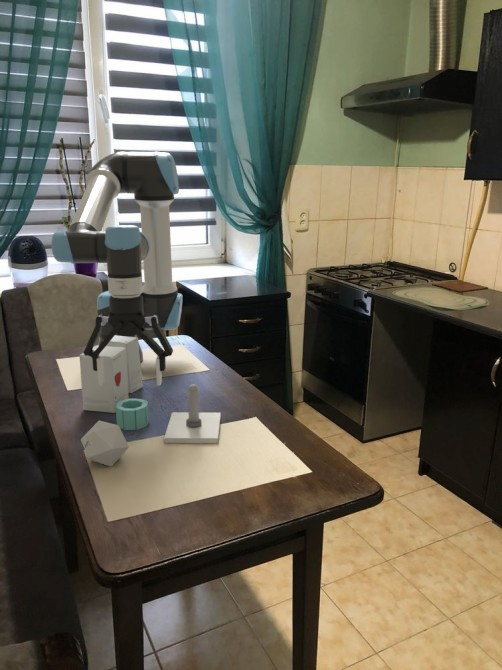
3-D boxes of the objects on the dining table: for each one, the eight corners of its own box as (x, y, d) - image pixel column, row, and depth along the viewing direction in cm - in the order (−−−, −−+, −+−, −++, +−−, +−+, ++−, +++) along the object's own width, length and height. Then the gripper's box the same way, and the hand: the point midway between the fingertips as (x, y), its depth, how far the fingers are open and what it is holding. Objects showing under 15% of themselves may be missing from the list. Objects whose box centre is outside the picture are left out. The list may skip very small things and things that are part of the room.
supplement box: (115, 414, 136) (111, 357, 132) (82, 410, 137) (77, 354, 133) (130, 400, 144) (127, 346, 140) (99, 397, 146) (95, 344, 142)
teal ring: (121, 417, 134) (120, 398, 132) (150, 417, 134) (149, 398, 132) (114, 430, 127) (113, 410, 125) (145, 430, 127) (144, 410, 126)
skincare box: (143, 387, 153) (140, 337, 149) (130, 394, 148) (127, 342, 144) (118, 383, 157) (115, 333, 153) (105, 390, 151) (102, 339, 147)
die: (91, 452, 118) (67, 430, 110) (126, 428, 119) (105, 405, 112) (104, 481, 112) (80, 459, 105) (141, 456, 114) (119, 433, 106)
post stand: (172, 416, 134) (171, 374, 131) (220, 417, 134) (220, 374, 131) (164, 442, 121) (162, 395, 118) (217, 443, 121) (217, 396, 118)
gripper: (65, 297, 118) (72, 389, 123) (179, 298, 118) (181, 389, 124) (75, 291, 125) (82, 378, 131) (183, 292, 126) (185, 378, 131)
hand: (130, 383), depth 127 cm, fingers open, 13 cm apart
